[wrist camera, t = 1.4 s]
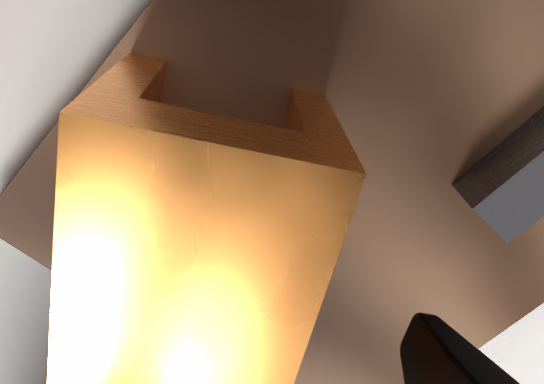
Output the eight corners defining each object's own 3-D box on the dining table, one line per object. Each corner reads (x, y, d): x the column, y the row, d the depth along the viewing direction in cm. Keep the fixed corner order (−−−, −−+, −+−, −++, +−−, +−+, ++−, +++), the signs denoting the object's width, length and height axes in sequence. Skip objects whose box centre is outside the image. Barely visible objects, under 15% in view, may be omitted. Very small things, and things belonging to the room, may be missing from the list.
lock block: (272, 280, 15) (281, 417, 11) (109, 252, 14) (46, 387, 10) (325, 95, 13) (366, 174, 8) (130, 51, 12) (59, 112, 7)
